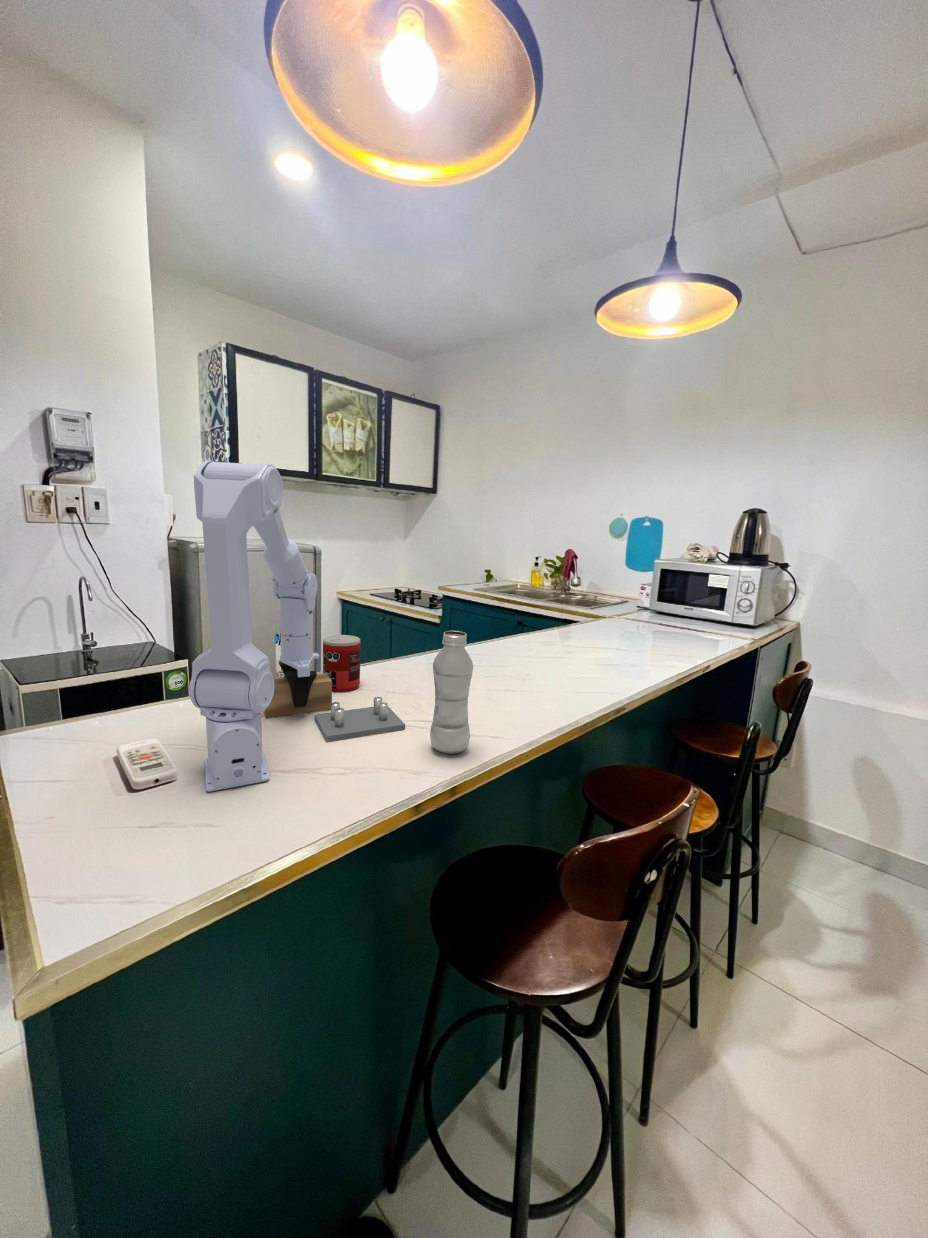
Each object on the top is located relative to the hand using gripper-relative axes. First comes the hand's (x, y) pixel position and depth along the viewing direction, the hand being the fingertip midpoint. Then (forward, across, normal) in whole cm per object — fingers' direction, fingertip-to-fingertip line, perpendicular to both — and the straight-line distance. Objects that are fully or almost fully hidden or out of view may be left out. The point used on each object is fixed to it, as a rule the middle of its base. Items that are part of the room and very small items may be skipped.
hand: (297, 701), depth 94 cm
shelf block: (+2, 0, 0) cm, 2 cm away
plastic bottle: (+2, -26, -20) cm, 33 cm away
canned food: (+2, +10, -11) cm, 15 cm away
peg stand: (+2, -11, -9) cm, 14 cm away
